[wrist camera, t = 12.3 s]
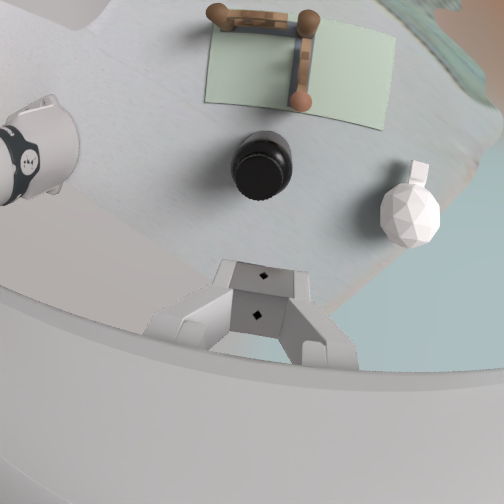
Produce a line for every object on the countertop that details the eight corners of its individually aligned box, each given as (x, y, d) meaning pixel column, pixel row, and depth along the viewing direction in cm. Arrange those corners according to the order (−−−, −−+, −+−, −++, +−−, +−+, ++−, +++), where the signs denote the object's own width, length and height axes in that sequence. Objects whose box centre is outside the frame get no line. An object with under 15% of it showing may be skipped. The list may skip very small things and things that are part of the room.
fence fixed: (316, 25, 28) (321, 11, 22) (314, 41, 29) (319, 30, 23) (221, 17, 29) (207, 3, 23) (218, 32, 30) (204, 20, 24)
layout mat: (205, 102, 35) (204, 102, 35) (216, 9, 28) (215, 8, 28) (381, 130, 34) (382, 130, 34) (395, 37, 27) (396, 37, 26)
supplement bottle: (245, 180, 40) (229, 213, 30) (237, 133, 37) (216, 149, 27) (294, 175, 39) (295, 207, 29) (288, 127, 36) (288, 140, 26)
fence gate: (295, 45, 29) (296, 36, 24) (314, 48, 29) (318, 39, 24) (288, 108, 34) (288, 110, 29) (307, 111, 34) (310, 113, 28)
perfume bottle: (425, 244, 39) (442, 168, 35) (434, 266, 32) (457, 173, 27) (374, 230, 42) (388, 154, 38) (372, 249, 35) (391, 154, 30)
